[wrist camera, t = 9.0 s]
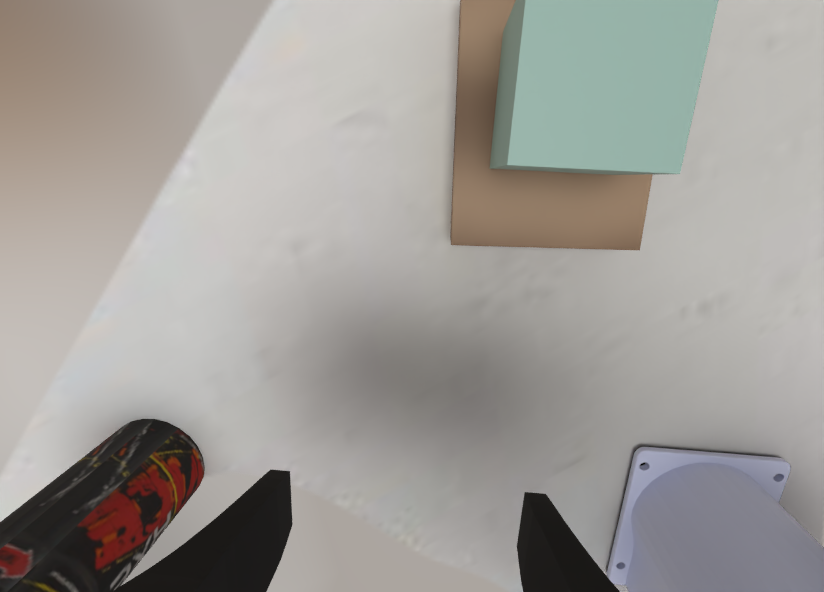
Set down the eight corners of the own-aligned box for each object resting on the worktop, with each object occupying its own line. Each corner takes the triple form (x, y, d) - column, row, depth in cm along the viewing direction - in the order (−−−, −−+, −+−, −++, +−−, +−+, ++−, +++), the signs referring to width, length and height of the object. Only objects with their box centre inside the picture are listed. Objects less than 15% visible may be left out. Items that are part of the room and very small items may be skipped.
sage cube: (613, 175, 17) (679, 173, 12) (489, 168, 17) (507, 164, 12) (637, 35, 16) (724, -28, 11) (503, 31, 16) (529, -33, 11)
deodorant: (106, 412, 25) (-348, 732, 11) (202, 426, 25) (-130, 771, 10) (116, 493, 27) (-265, 862, 12) (205, 506, 26) (-77, 898, 12)
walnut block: (612, 239, 21) (639, 250, 18) (450, 235, 21) (451, 245, 18) (647, 6, 18) (686, -26, 15) (459, 9, 18) (462, -23, 15)
